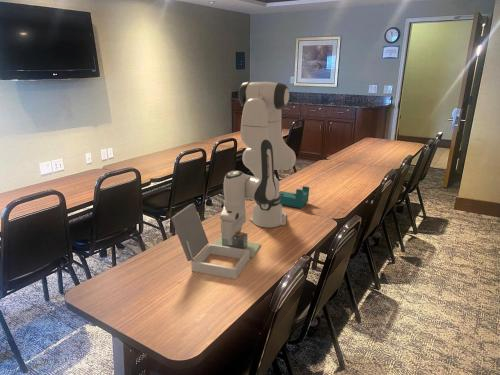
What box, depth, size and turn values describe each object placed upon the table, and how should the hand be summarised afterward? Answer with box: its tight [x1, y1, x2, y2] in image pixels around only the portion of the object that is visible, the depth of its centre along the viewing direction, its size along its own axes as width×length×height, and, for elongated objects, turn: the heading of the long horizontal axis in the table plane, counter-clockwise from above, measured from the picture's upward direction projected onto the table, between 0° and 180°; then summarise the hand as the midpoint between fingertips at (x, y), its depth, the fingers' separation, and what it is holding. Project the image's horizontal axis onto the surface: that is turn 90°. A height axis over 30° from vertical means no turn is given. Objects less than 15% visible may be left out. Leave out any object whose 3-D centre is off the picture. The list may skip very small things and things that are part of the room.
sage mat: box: [212, 237, 262, 259], centre depth 154 cm, size 12×20×1 cm, turn 72°
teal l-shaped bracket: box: [279, 185, 310, 209], centre depth 207 cm, size 18×11×10 cm, turn 59°
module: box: [221, 231, 248, 249], centre depth 153 cm, size 4×10×6 cm, turn 69°
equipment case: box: [186, 241, 250, 280], centre depth 139 cm, size 16×20×12 cm
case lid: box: [170, 202, 210, 262], centre depth 140 cm, size 16×18×2 cm
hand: (234, 239), depth 153 cm, fingers open, 8 cm apart
